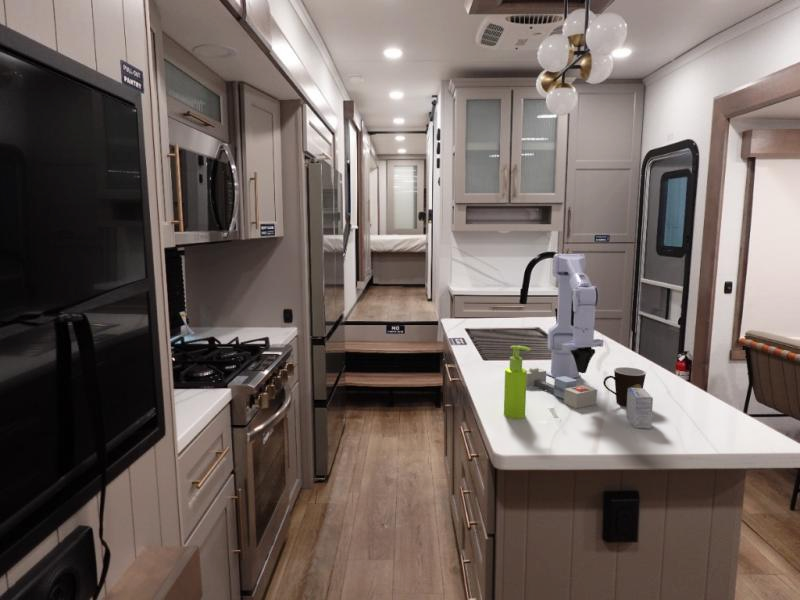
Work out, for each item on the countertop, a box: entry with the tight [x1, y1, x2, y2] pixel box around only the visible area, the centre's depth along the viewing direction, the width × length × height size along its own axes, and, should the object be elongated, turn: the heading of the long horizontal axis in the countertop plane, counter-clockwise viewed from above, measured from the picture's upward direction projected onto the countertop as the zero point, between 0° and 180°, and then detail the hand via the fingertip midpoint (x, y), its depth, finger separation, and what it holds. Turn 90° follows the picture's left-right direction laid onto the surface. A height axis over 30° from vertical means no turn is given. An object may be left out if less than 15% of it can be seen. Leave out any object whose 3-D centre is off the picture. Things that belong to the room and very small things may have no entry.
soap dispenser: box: [503, 344, 532, 420], centre depth 139 cm, size 6×7×20 cm
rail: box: [533, 379, 554, 395], centre depth 159 cm, size 2×17×2 cm, turn 25°
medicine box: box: [625, 388, 654, 430], centre depth 134 cm, size 8×4×9 cm, turn 170°
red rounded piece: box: [575, 387, 586, 392], centre depth 149 cm, size 3×3×4 cm
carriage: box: [553, 376, 578, 400], centre depth 155 cm, size 4×5×6 cm
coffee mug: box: [602, 366, 647, 407], centre depth 150 cm, size 12×9×10 cm
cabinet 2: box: [563, 384, 598, 409], centre depth 149 cm, size 8×5×4 cm, turn 115°
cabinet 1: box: [526, 366, 547, 388], centre depth 168 cm, size 8×3×6 cm, turn 115°
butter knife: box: [547, 407, 559, 419], centre depth 138 cm, size 1×24×3 cm
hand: (581, 372), depth 148 cm, fingers closed
